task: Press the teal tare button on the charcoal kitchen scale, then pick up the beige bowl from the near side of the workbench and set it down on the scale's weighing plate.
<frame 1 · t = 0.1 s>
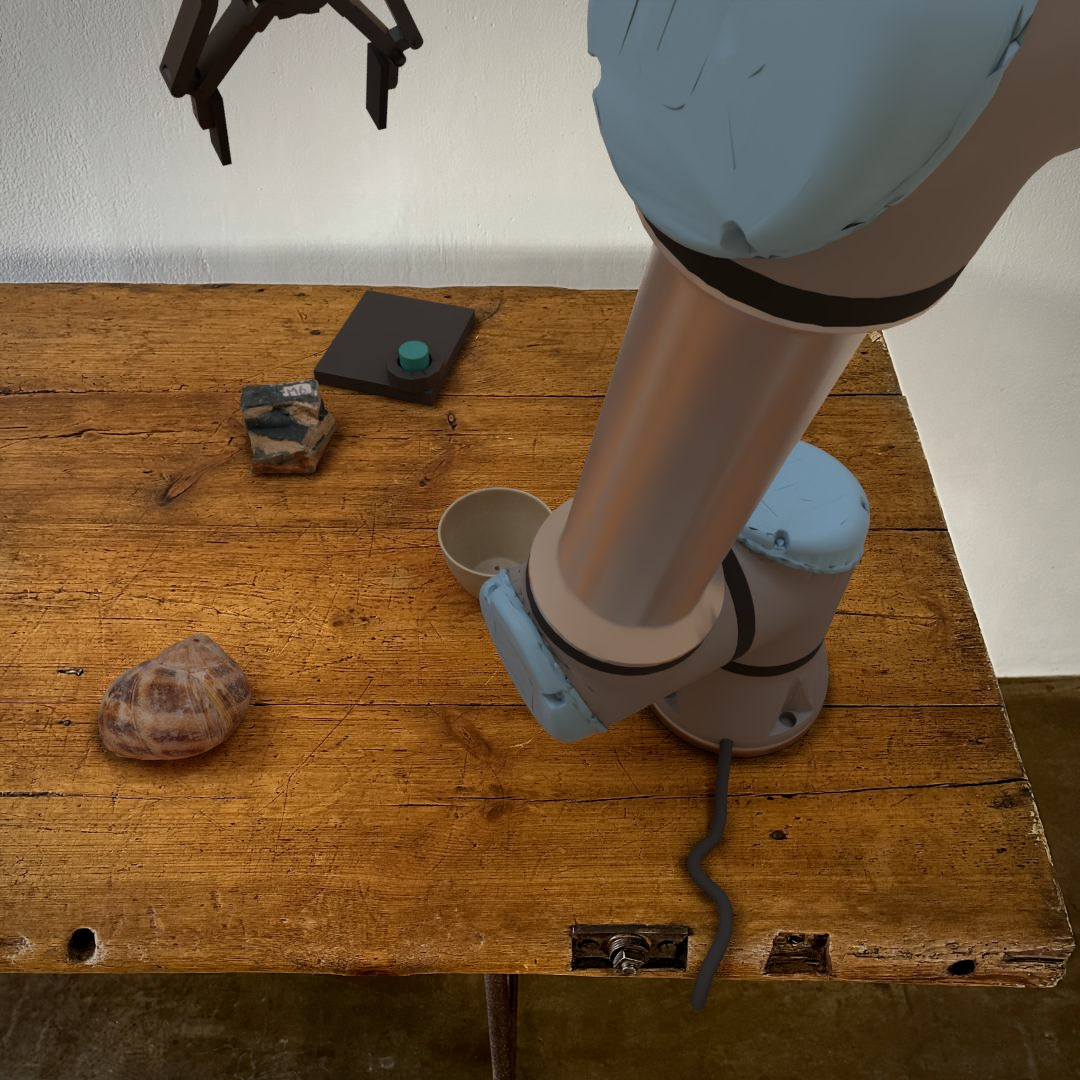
hand: (300, 135, 82), 28 cm above the table, tool tilted 20°, fingers open, 13 cm apart
tare button: (414, 356, 100), point 4 cm above the table, slide at 0.1 cm
scale: (398, 351, 107), on the table
tray: (692, 462, 97), on the table
seashell: (183, 721, 76), on the table
beige bowl: (499, 584, 86), on the table
rock: (291, 446, 97), on the table
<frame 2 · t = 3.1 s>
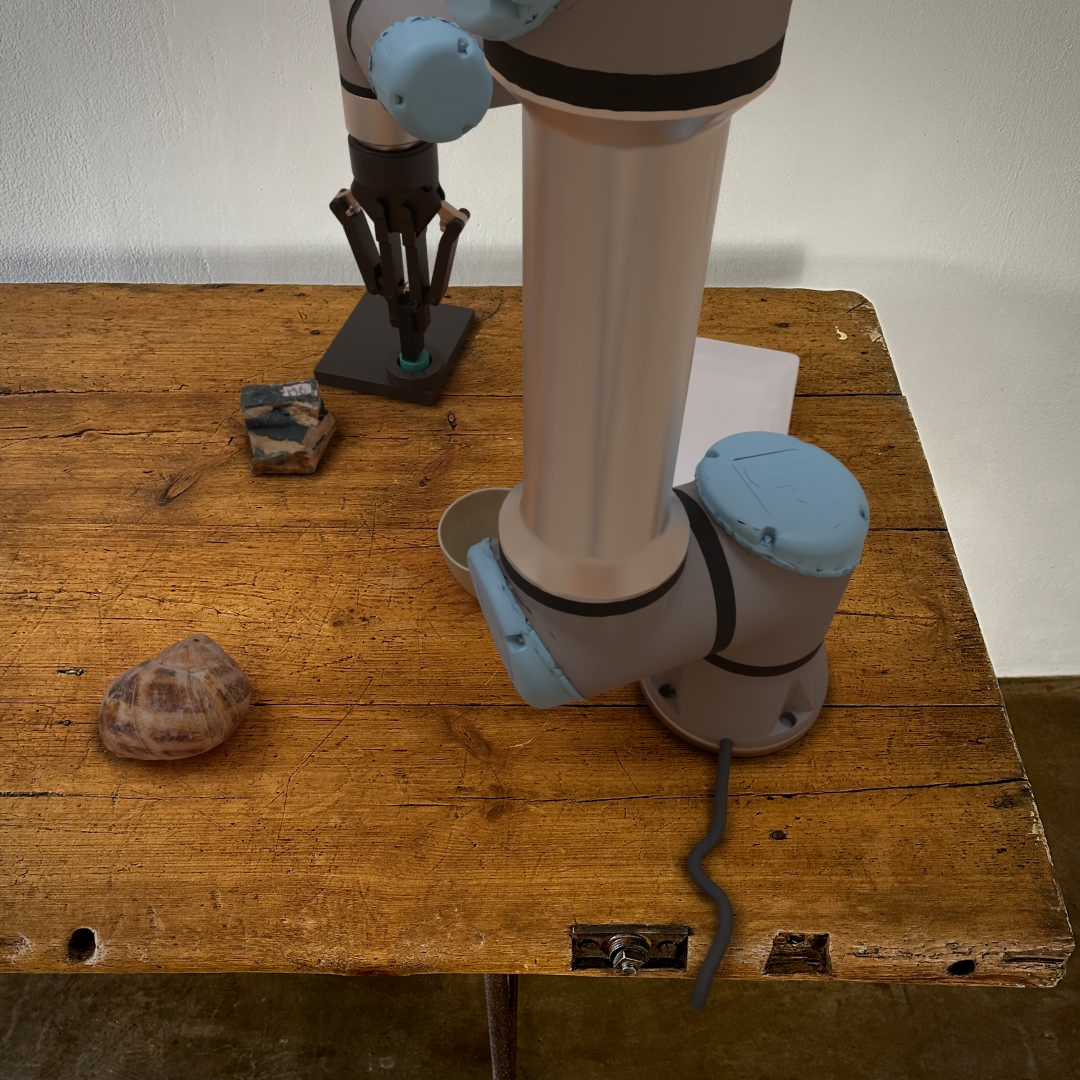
hand: (413, 352, 100), 4 cm above the table, tool pointing down, fingers closed
tare button: (414, 362, 100), point 3 cm above the table, slide at -0.6 cm, touching gripper
everything else where it was.
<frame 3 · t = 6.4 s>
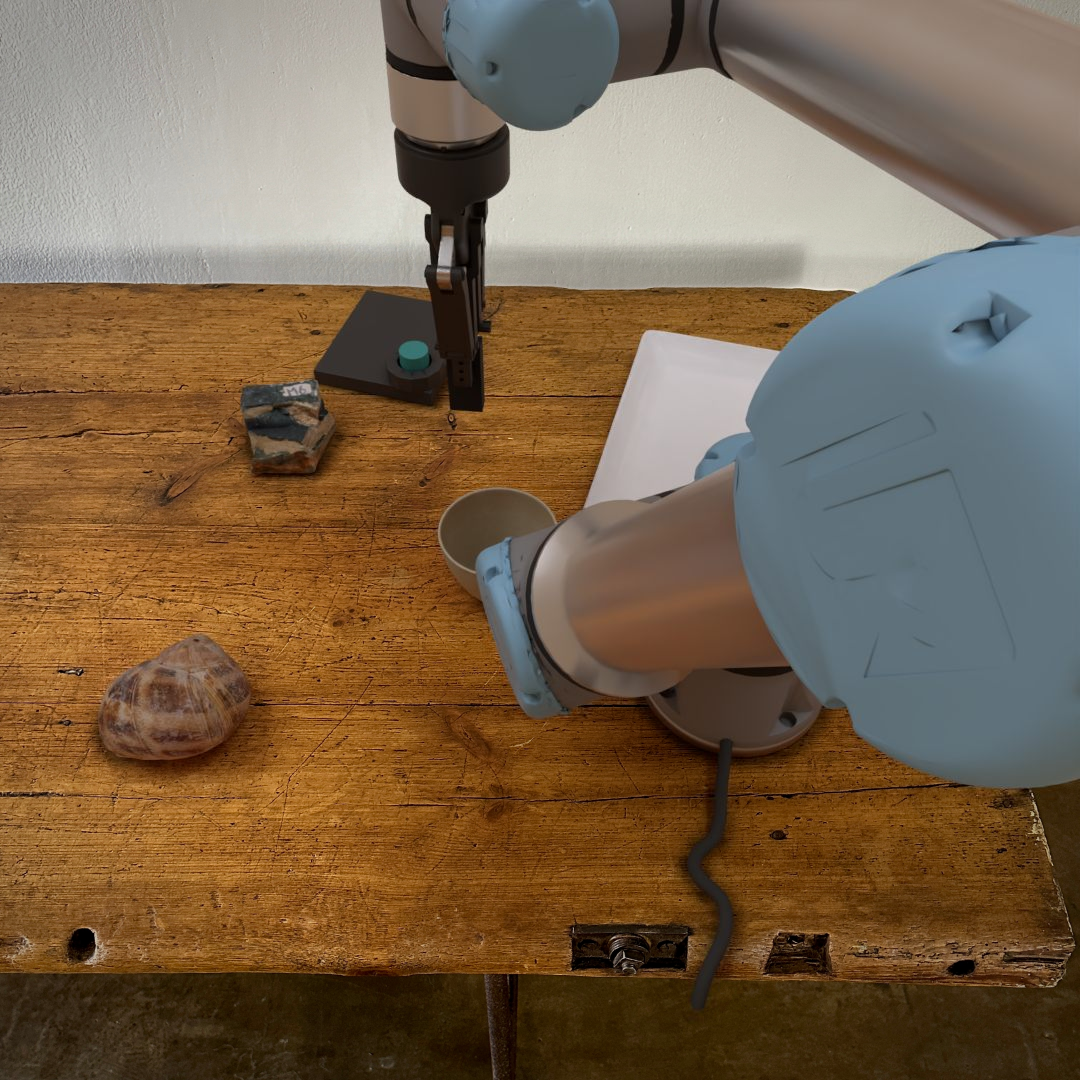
hand: (467, 405, 80), 14 cm above the table, tool pointing down, fingers closed
tare button: (414, 356, 100), point 4 cm above the table, slide at 0.1 cm
everything else where it was.
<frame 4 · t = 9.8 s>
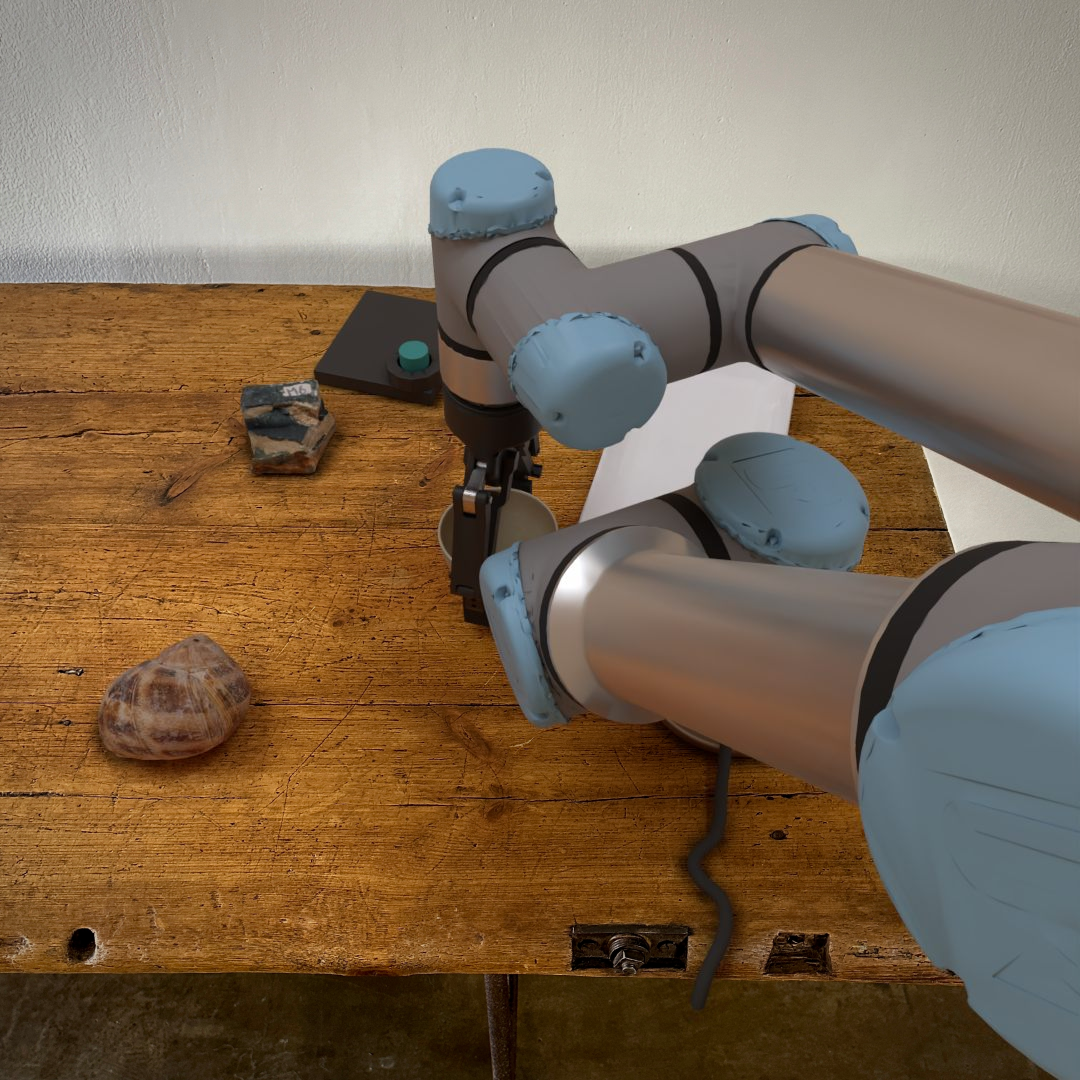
hand: (499, 574, 85), 1 cm above the table, tool pointing down, fingers closed on beige bowl, 10 cm apart
beige bowl: (499, 584, 86), on the table, touching gripper
everything else where it was.
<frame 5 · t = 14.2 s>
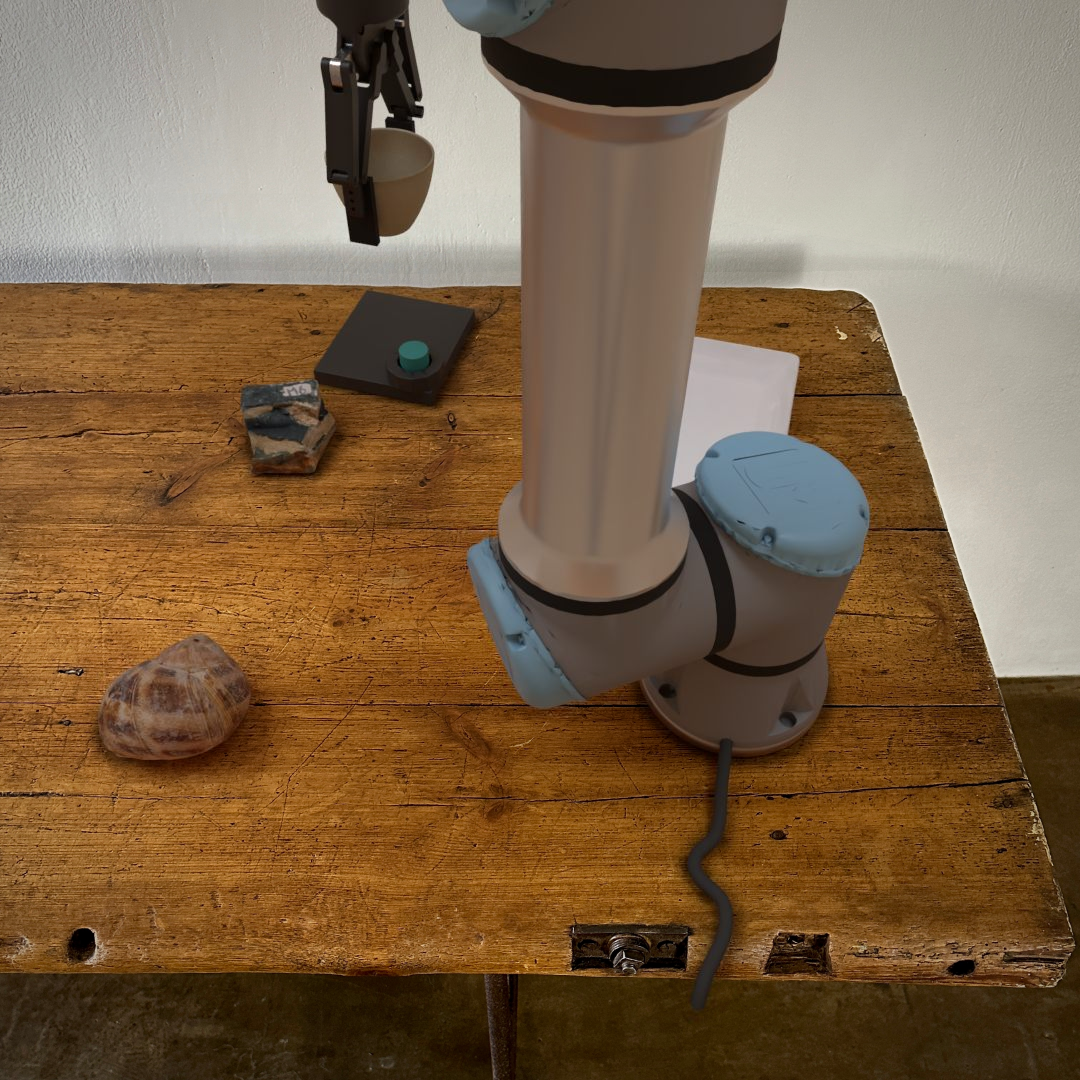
hand: (385, 211, 93), 17 cm above the table, tool pointing down, fingers closed on beige bowl, 10 cm apart
beige bowl: (387, 224, 94), point 16 cm above the table, touching gripper
everything else where it was.
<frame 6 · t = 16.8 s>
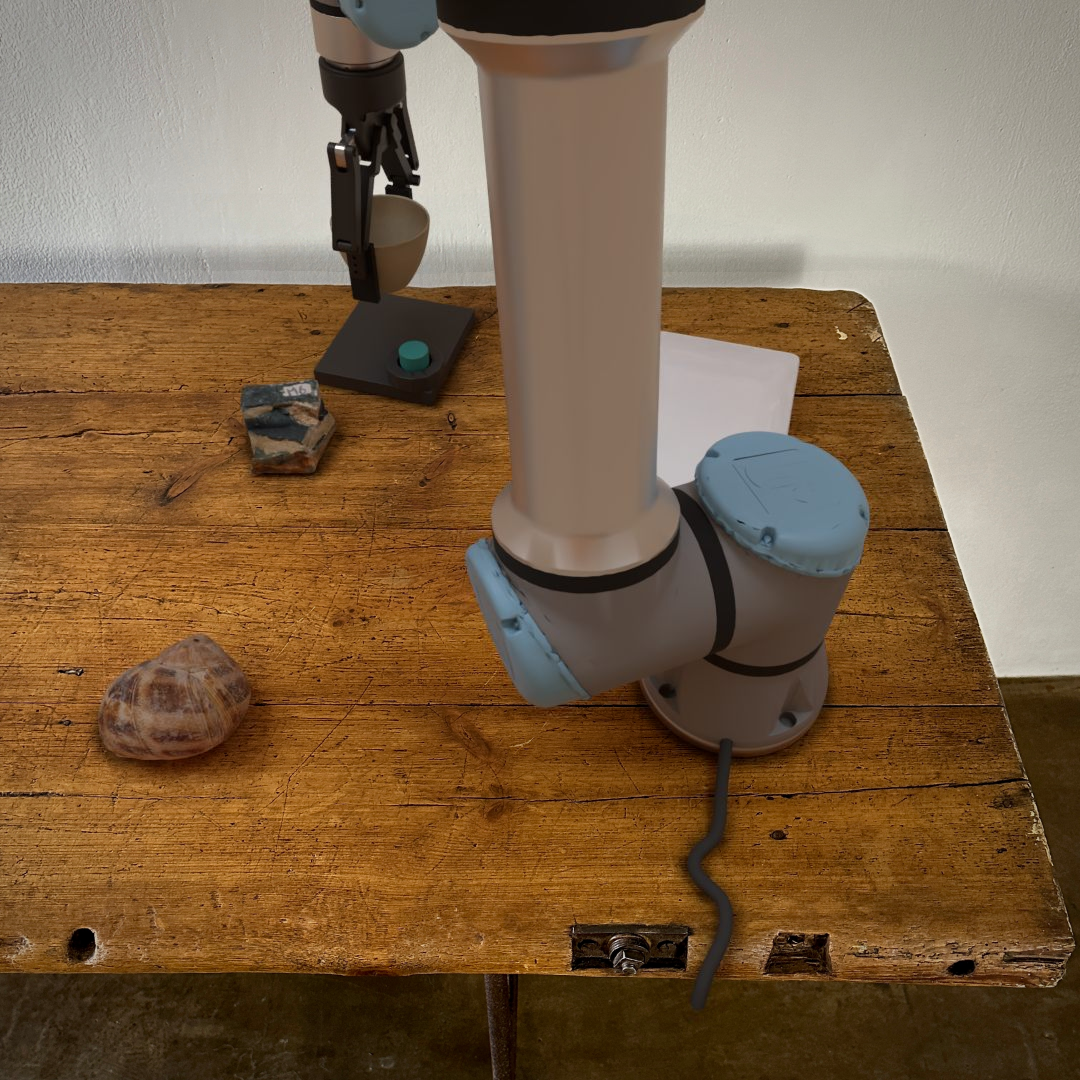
hand: (385, 270, 102), 8 cm above the table, tool pointing down, fingers closed on beige bowl, 10 cm apart
beige bowl: (387, 281, 103), point 7 cm above the table, touching gripper
everything else where it was.
when the fingers open (3 cm above the table, at t = 19.0 s): beige bowl stays where it is, resting on scale.
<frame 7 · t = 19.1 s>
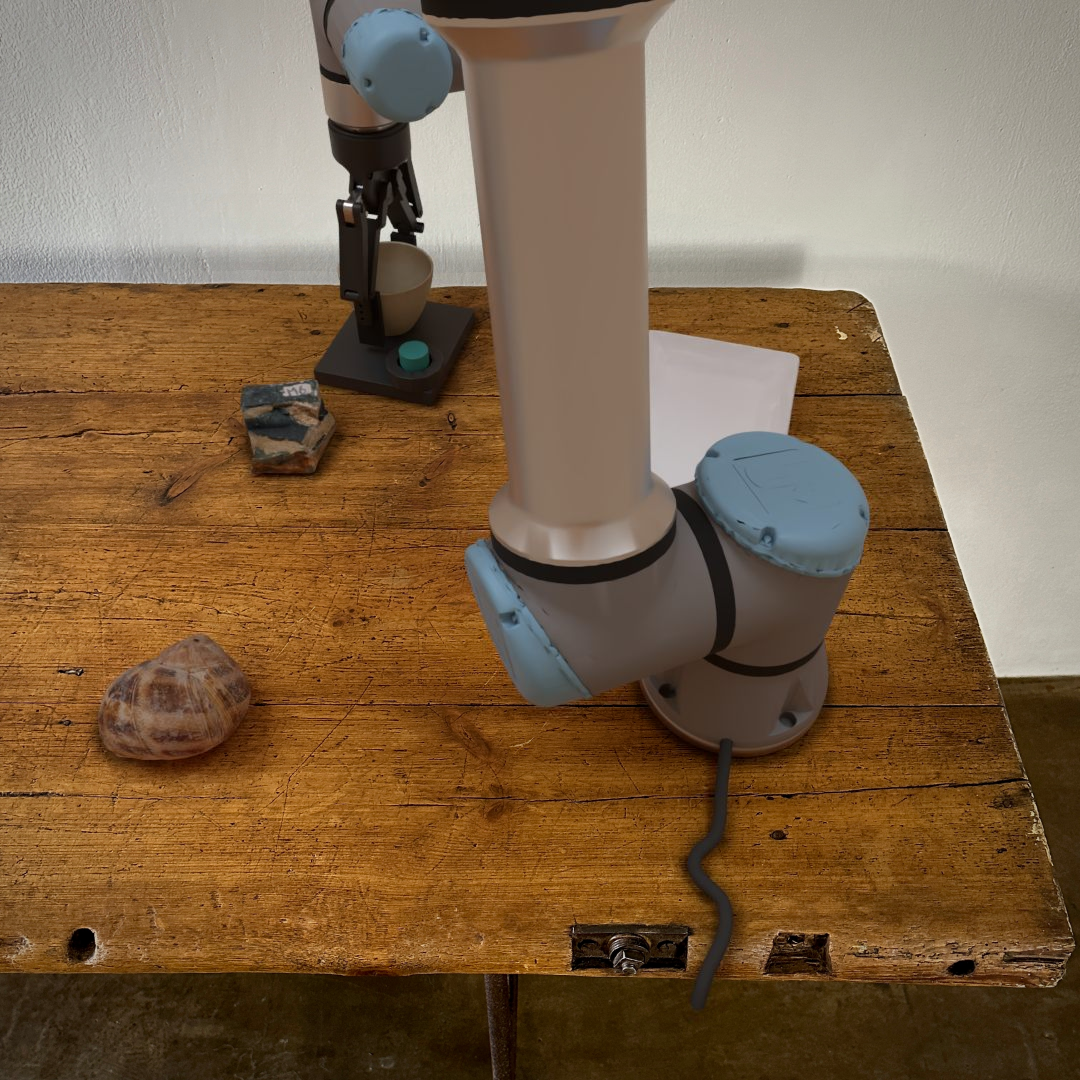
hand: (391, 313, 106), 3 cm above the table, tool pointing down, fingers open, 10 cm apart
beige bowl: (392, 324, 107), point 2 cm above the table, touching scale
everything else where it was.
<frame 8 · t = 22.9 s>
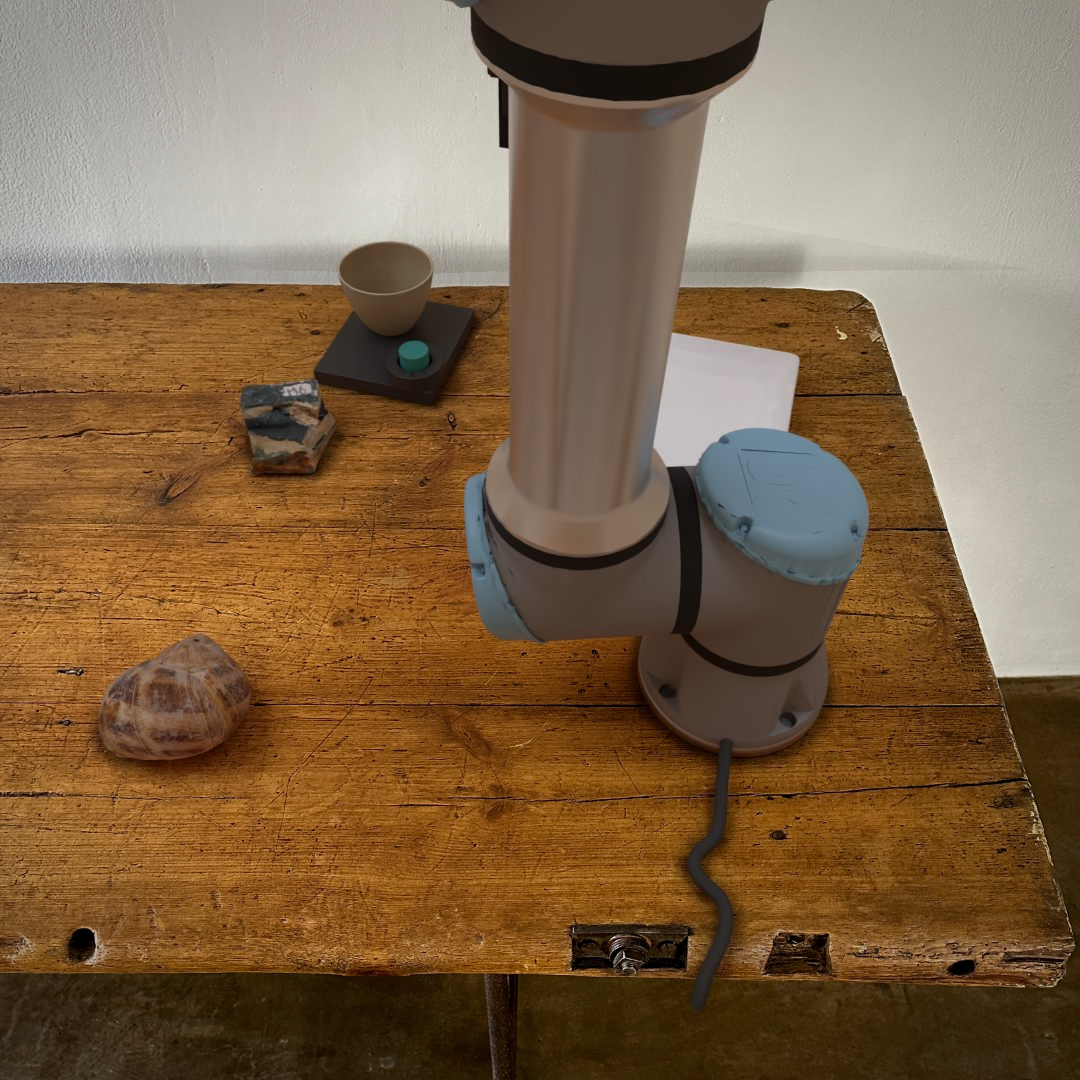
hand: (534, 113, 91), 25 cm above the table, tool pointing down, fingers open, 13 cm apart
nothing on the table moved.
at the end: tare button pushed in 1.0 cm at the most during the clip, back to where it started at the end; beige bowl inside the target area on the scale (0.0 cm from its centre), point 1.5 cm above the scale's base; beige bowl touching scale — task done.
